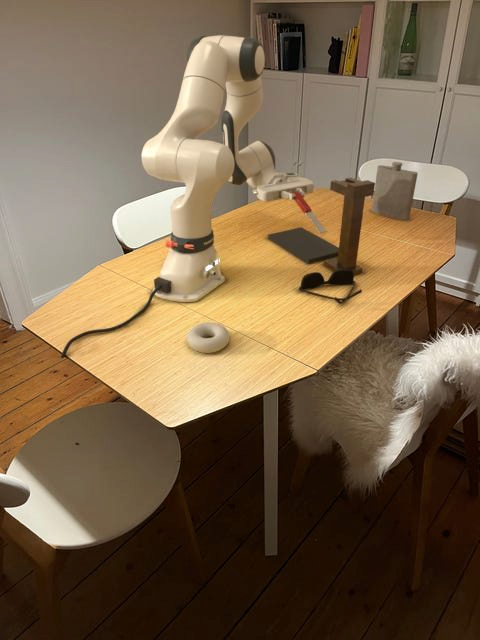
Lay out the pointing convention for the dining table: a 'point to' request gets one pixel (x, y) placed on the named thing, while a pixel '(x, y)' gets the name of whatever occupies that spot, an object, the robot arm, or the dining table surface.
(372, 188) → the wooden post stand
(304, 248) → the cutting board
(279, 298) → the dining table surface
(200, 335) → the donut
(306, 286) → the sunglasses
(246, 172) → the robot arm
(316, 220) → the knife
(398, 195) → the hip flask
